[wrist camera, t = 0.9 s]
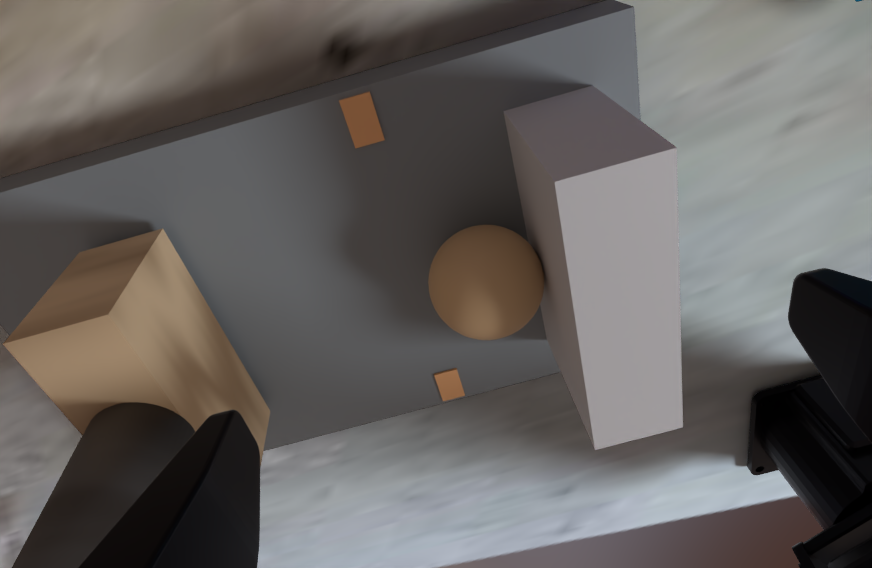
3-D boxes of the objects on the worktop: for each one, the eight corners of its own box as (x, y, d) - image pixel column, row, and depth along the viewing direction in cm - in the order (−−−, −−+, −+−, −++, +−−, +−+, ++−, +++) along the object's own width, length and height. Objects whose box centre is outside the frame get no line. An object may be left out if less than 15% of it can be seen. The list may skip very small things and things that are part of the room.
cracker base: (635, 320, 27) (725, 454, 20) (150, 450, 28) (84, 618, 21) (610, -2, 19) (742, 43, 13) (-53, 194, 20) (-256, 330, 14)
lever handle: (272, 410, 24) (218, 712, 15) (200, 430, 25) (103, 741, 15) (165, 227, 19) (-11, 509, 10) (76, 252, 20) (-176, 553, 10)
